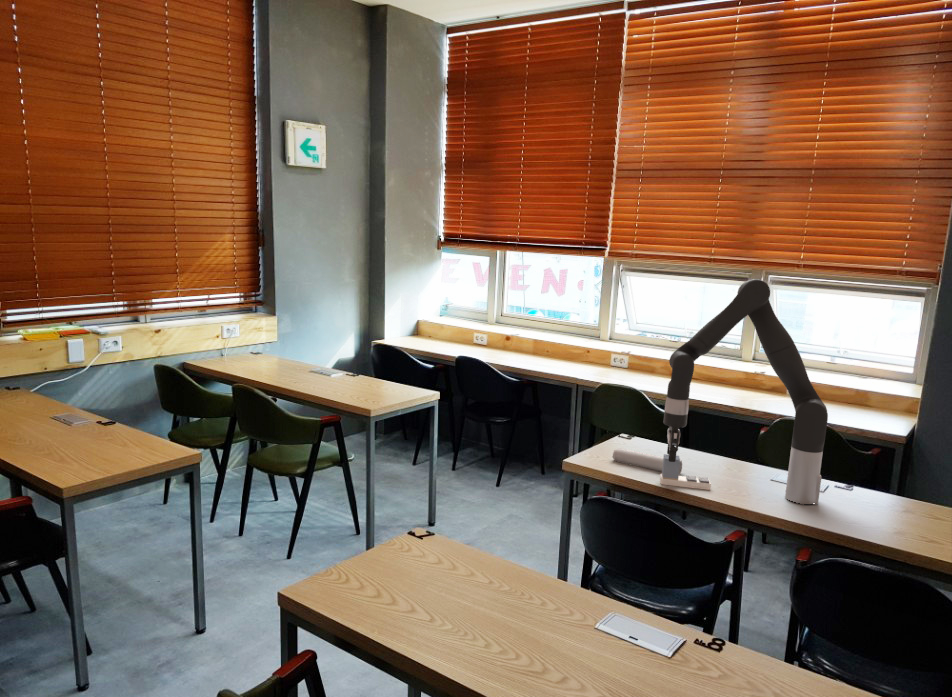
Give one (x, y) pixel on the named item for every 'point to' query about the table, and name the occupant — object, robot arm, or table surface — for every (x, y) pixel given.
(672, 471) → the block
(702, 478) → the mark
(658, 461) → the tube
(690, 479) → the mark
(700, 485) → the board
